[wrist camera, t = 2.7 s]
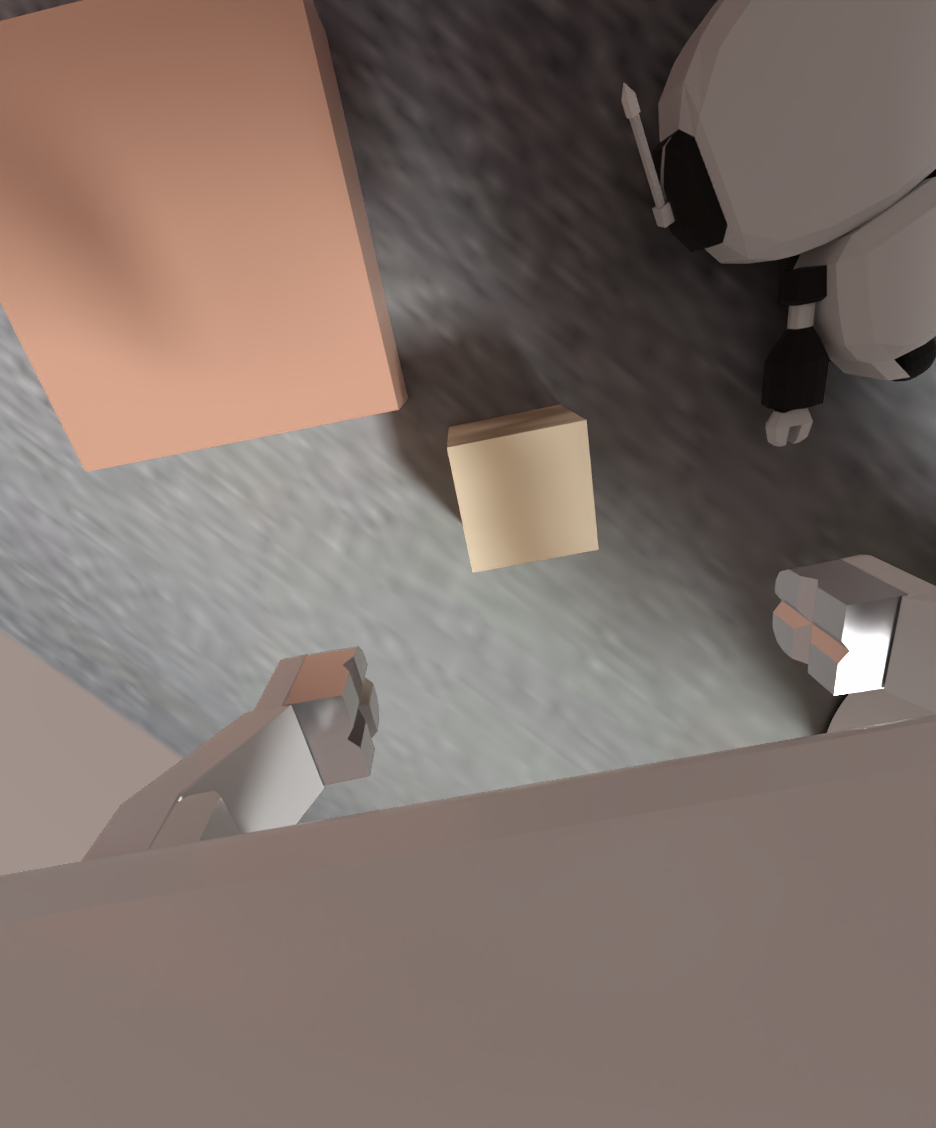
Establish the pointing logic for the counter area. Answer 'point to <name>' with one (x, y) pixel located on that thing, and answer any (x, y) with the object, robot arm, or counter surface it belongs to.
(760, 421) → the counter surface
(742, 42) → the robot toy
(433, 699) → the counter surface
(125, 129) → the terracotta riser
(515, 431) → the maple cube
